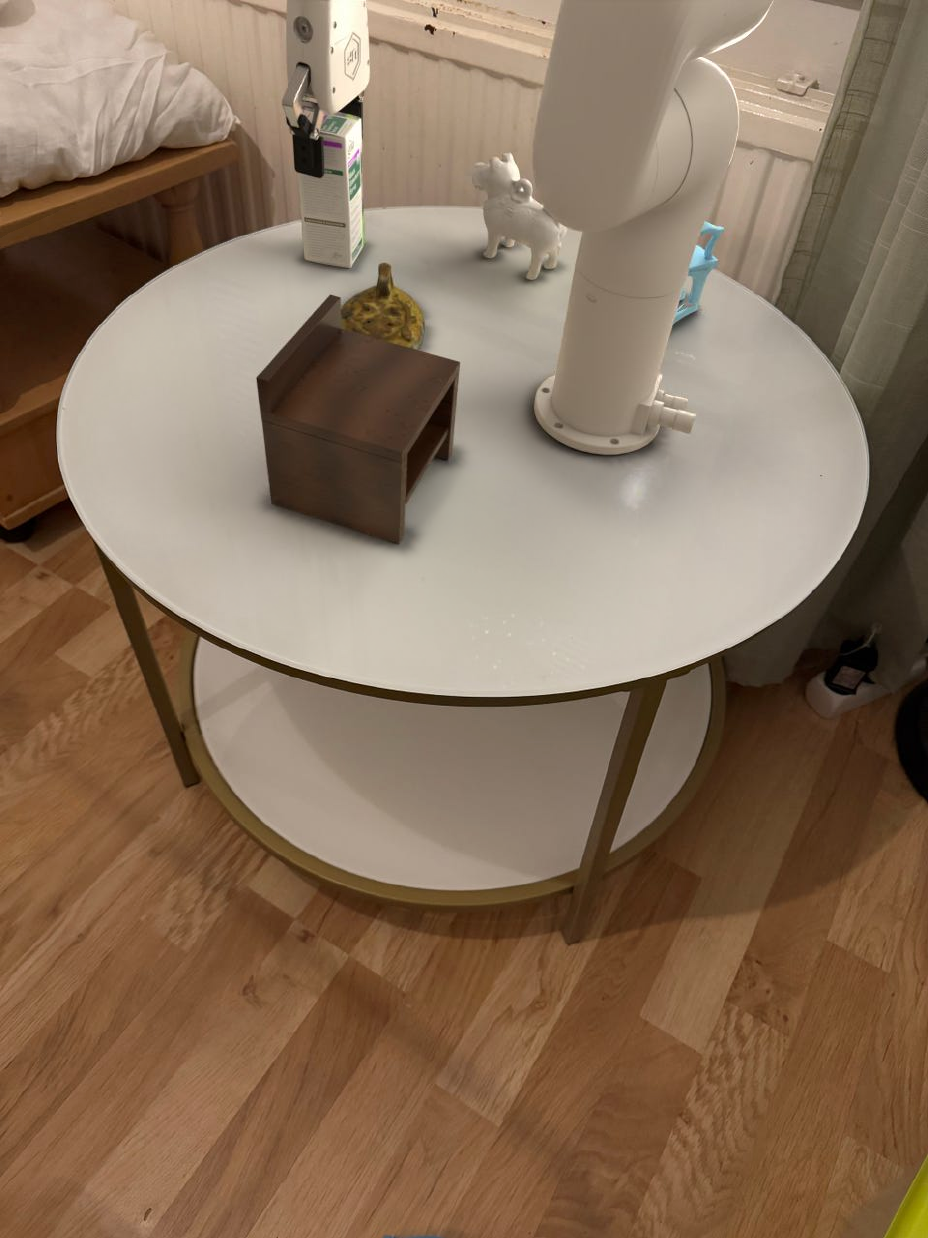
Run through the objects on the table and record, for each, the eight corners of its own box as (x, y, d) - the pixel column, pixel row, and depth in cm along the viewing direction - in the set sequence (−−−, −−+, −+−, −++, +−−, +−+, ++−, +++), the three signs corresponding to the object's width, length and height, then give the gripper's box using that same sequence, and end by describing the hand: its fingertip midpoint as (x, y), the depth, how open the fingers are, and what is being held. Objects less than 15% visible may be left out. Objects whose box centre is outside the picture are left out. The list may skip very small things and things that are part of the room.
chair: (710, 320, 102) (743, 217, 93) (651, 335, 99) (680, 230, 90) (670, 286, 107) (698, 183, 97) (612, 299, 104) (635, 195, 94)
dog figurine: (483, 229, 112) (492, 139, 104) (566, 269, 107) (582, 177, 99) (455, 243, 109) (462, 152, 101) (540, 285, 104) (554, 192, 96)
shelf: (452, 453, 84) (463, 330, 74) (399, 544, 76) (403, 420, 66) (335, 418, 86) (330, 293, 76) (270, 503, 78) (255, 377, 68)
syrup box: (351, 269, 103) (348, 137, 92) (301, 260, 104) (293, 127, 93) (365, 245, 107) (364, 115, 96) (317, 237, 107) (310, 106, 96)
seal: (421, 382, 93) (422, 300, 102) (428, 343, 89) (429, 262, 98) (330, 368, 91) (339, 287, 100) (333, 328, 87) (343, 247, 97)
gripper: (319, 1, 78) (326, 198, 91) (397, -50, 89) (393, 133, 102) (241, -17, 79) (259, 180, 92) (327, -65, 90) (332, 118, 103)
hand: (329, 155), depth 97 cm, fingers open, 9 cm apart
